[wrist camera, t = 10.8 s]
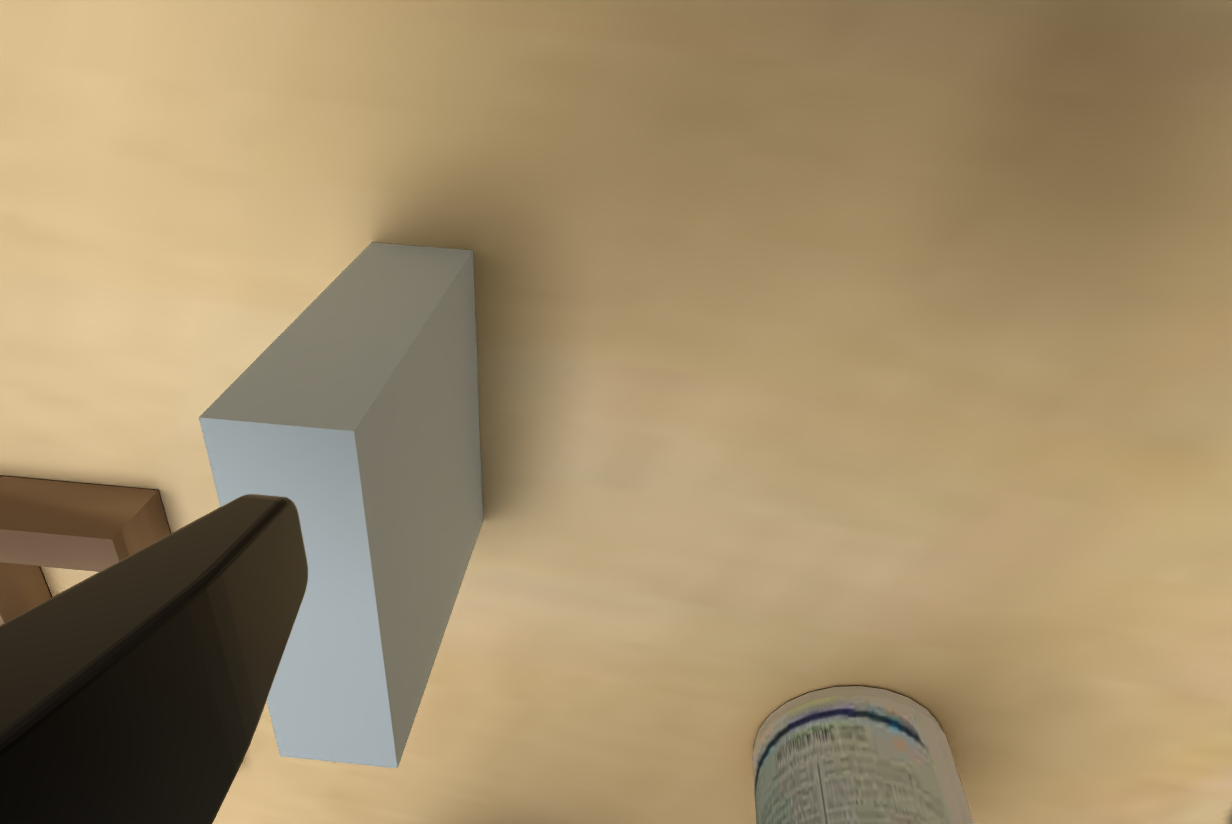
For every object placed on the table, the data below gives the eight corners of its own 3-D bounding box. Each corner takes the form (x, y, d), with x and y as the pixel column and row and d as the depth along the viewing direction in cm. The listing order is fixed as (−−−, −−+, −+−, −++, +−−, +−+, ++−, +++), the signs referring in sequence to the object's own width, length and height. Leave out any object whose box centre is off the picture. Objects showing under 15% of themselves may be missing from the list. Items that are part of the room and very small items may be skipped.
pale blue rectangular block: (483, 520, 24) (397, 768, 17) (399, 512, 24) (279, 755, 17) (473, 249, 19) (354, 431, 13) (372, 241, 20) (198, 417, 13)
